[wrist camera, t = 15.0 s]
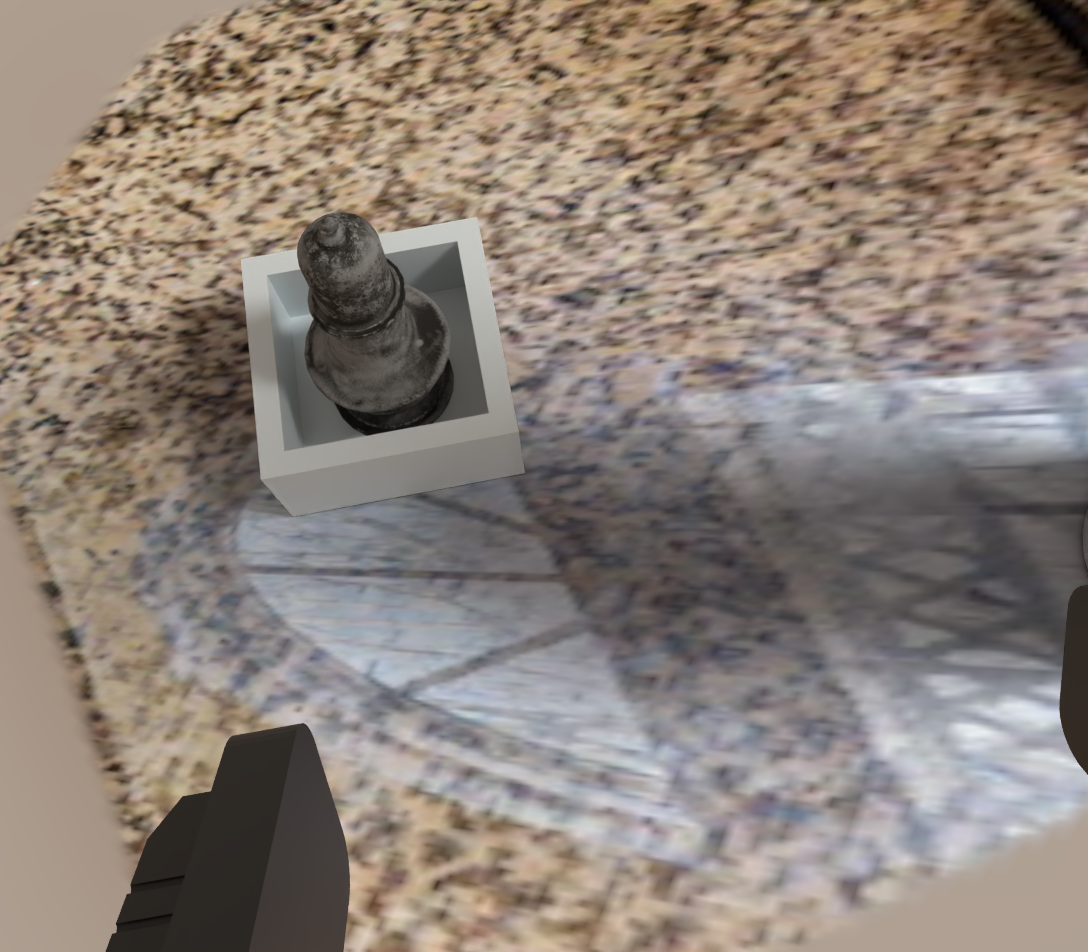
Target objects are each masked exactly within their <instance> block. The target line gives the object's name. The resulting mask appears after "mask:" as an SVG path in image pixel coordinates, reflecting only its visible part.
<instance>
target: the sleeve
mask: <svg viewBox="0 0 1088 952" xmlns="http://www.w3.org/2000/svg"><path fill="white" fill-rule="evenodd" d="M378 236H379V239H380V242H381V245H382V248H383V251H384V254H385V257H386V258H387V259H389V260H390V261H391V262H392V263H394V264H395V265H396V266H397V267H398V269H399V270H400V272H401V274H402V275H403V278H404V282H405V284H406V285H410V286H412V287H414V288H416V289H418V290H420V291H422V292H424V293H425V294H426V295H427V296H428V297H430V298H431V299H432V300H433V301H434V302H435V303H436V304H437V305H438V306H439V308H440V310H441V311H442V313H443V315H444V316H445V318H446V320H447V324H448V328H449V332H450V336H451V339H450V354H449V357H448V358H449V360H450V363H451V367H452V370H453V374H454V384H453V392H452V395H451V398H450V401H449V404H448V406H447V407H446V409H445V410H444V412H443V413H442V415H441V416H440V417H439V418H438V419H437V420H436V421H435V422H434V423H433V424H428V425H423V426H417V427H412V428H406V429H401V430H396V431H390V432H385V433H379V434H374V435H369V436H366V435H364V434H362V433H360V432H359V431H357V430H355V429H353V428H352V427H351V426H350V425H349V424H348V423H347V422H346V421H345V420H344V419H343V418H342V416H341V415H340V413H339V411H338V409H337V407H336V405H335V403H334V402H333V401H331V400H329V399H328V398H327V397H326V396H325V395H324V394H323V393H322V392H321V391H320V390H319V389H318V388H317V387H316V386H315V384H314V382H313V380H312V378H311V376H310V375H309V373H308V371H307V366H306V361H305V356H304V350H305V340H306V335H307V333H308V330H309V328H310V325H311V323H312V321H313V318H312V316H311V314H310V312H309V307H308V302H307V299H308V291H309V286H308V284H307V282H306V280H305V278H304V276H303V274H302V272H301V270H300V268H299V264H298V258H297V249H296V250H290V251H285V252H279V253H273V254H268V255H262V256H257V257H251V258H245V259H241V266H242V277H243V288H244V299H245V310H246V321H247V332H248V343H249V354H250V365H251V377H252V388H253V399H254V410H255V421H256V432H257V443H258V454H259V465H260V476H261V481H262V482H263V483H264V484H265V485H266V486H267V487H268V489H269V490H270V491H271V492H272V493H273V494H274V495H275V497H276V498H277V499H278V500H279V501H280V502H281V503H282V505H283V506H284V507H285V508H286V509H287V510H288V511H289V513H290V514H291V515H292V516H293V517H295V516H300V515H305V514H311V513H316V512H321V511H326V510H332V509H337V508H342V507H348V506H353V505H358V504H364V503H369V502H374V501H380V500H385V499H390V498H396V497H401V496H406V495H412V494H417V493H422V492H428V491H433V490H438V489H444V488H449V487H454V486H460V485H465V484H470V483H476V482H481V481H486V480H492V479H497V478H502V477H508V476H513V475H518V474H524V473H525V470H524V463H523V456H522V450H521V443H520V437H519V430H518V425H517V420H516V415H515V410H514V405H513V399H512V394H511V389H510V384H509V379H508V374H507V369H506V363H505V358H504V353H503V348H502V343H501V338H500V332H499V327H498V322H497V317H496V312H495V307H494V302H493V296H492V291H491V286H490V281H489V276H488V271H487V265H486V260H485V255H484V250H483V245H482V240H481V235H480V229H479V224H478V219H477V217H475V218H469V219H463V220H458V221H452V222H447V223H441V224H435V225H430V226H424V227H419V228H413V229H408V230H402V231H396V232H391V233H385V234H380V235H378Z"/></svg>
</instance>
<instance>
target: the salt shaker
mask: <svg viewBox="0 0 1088 952" xmlns="http://www.w3.org/2000/svg"><path fill="white" fill-rule="evenodd" d="M297 258H298V264H299V268H300V270H301V272H302V274H303V276H304V278H305V280H306V282H307V284H308V286H309V291H308V299H307V302H308V307H309V312H310V314H311V316H312V318H313V321H312V323H311V325H310V328H309V330H308V333H307V335H306V340H305V350H304V356H305V361H306V366H307V371H308V373H309V375H310V376H311V378H312V380H313V382H314V384H315V386H316V387H317V388H318V389H319V390H320V391H321V392H322V393H323V394H324V395H325V396H326V397H327V398H328V399H329V400H331V401H333V402H334V403H335V405H336V407H337V409H338V411H339V413H340V415H341V416H342V418H343V419H344V420H345V421H346V422H347V423H348V424H349V425H350V426H351V427H352V428H353V429H355V430H357V431H359V432H360V433H362V434H364V435H366V436H369V435H374V434H379V433H385V432H390V431H396V430H401V429H406V428H412V427H417V426H423V425H428V424H433V423H434V422H435V421H436V420H437V419H438V418H439V417H440V416H441V415H442V413H443V412H444V410H445V409H446V407H447V406H448V404H449V401H450V398H451V395H452V392H453V384H454V374H453V370H452V367H451V363H450V360H449V358H448V357H449V354H450V339H451V336H450V332H449V328H448V324H447V320H446V318H445V316H444V315H443V313H442V311H441V310H440V308H439V306H438V305H437V304H436V303H435V302H434V301H433V300H432V299H431V298H430V297H428V296H427V295H426V294H425V293H424V292H422V291H420V290H418V289H416V288H414V287H412V286H410V285H406V284H405V282H404V278H403V275H402V274H401V272H400V270H399V269H398V267H397V266H396V265H395V264H394V263H392V262H391V261H390V260H389V259H387V258H386V257H385V254H384V251H383V248H382V245H381V242H380V239H379V236H378V235H377V233H376V231H375V230H374V228H373V227H372V226H371V225H370V224H369V223H368V222H367V221H366V220H365V219H364V218H362V217H359V216H357V215H355V214H350V213H331V214H327V215H324V216H322V217H320V218H318V219H317V220H315V221H314V222H313V223H312V224H310V225H309V226H308V227H307V228H306V230H305V231H304V232H303V234H302V235H301V237H300V240H299V242H298V247H297Z"/></svg>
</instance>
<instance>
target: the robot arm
mask: <svg viewBox="0 0 1088 952" xmlns="http://www.w3.org/2000/svg"><path fill="white" fill-rule="evenodd" d="M1082 534H1083V550H1084V558H1085V562H1086V565H1087V569H1088V509H1087V511H1086V516H1085V521H1084V527H1083V533H1082ZM1059 709H1060V719H1061V724H1062V728H1063V732H1064V735H1065V738H1066V741H1067V743H1068V745H1069V747H1070V750H1071V751H1072V753H1073V755H1074V757H1075V759H1076V760H1077V762H1078V763H1079V765H1080V766H1081V767H1082V768H1083V770H1084V771H1085V772H1086V773H1087V774H1088V585H1084V586H1080V587H1078V588H1076V589H1075V590H1074V591H1073V593H1072V595H1071V597H1070V600H1069V604H1068V612H1067V623H1066V635H1065V646H1064V658H1063V669H1062V681H1061V692H1060V708H1059ZM349 895H350V874H349V861H348V853H347V847H346V842H345V837H344V834H343V830H342V827H341V824H340V820H339V817H338V814H337V811H336V808H335V804H334V801H333V798H332V795H331V792H330V788H329V785H328V782H327V779H326V776H325V773H324V769H323V766H322V763H321V760H320V757H319V753H318V750H317V747H316V744H315V741H314V738H313V735H312V733H311V731H310V729H309V728H308V726H307V725H306V724H304V723H301V724H296V725H290V726H285V727H279V728H274V729H268V730H262V731H257V732H251V733H246V734H240V735H235V736H232V737H230V738H229V740H228V741H227V743H226V746H225V748H224V752H223V755H222V758H221V761H220V764H219V768H218V771H217V774H216V777H215V780H214V784H213V787H212V790H211V791H210V792H205V793H199V794H194V795H188V796H183V797H182V798H181V799H180V800H179V802H178V803H177V804H176V805H175V806H174V808H173V809H172V810H171V811H170V812H169V814H168V815H167V816H166V817H165V818H164V820H163V821H162V822H161V823H160V825H159V826H158V827H157V828H156V829H155V831H154V832H153V833H152V834H151V835H150V837H149V838H148V839H147V842H146V844H145V847H144V850H143V852H142V855H141V858H140V860H139V863H138V866H137V869H136V871H135V874H134V877H133V879H132V882H131V894H127V895H126V898H125V901H124V904H123V906H122V909H121V912H120V914H119V917H118V920H117V922H116V925H117V932H116V933H114V934H112V936H111V938H110V941H109V944H108V947H107V949H106V952H343V950H344V941H345V932H346V923H347V914H348V905H349Z"/></svg>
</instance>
